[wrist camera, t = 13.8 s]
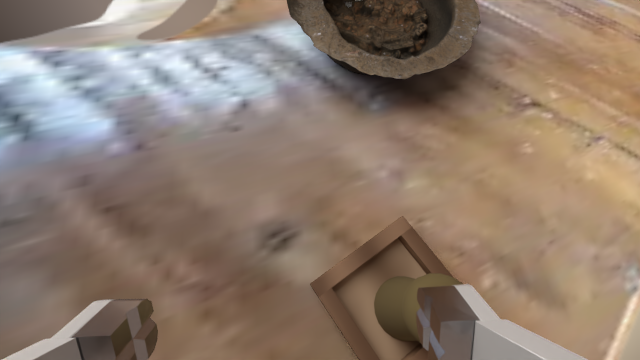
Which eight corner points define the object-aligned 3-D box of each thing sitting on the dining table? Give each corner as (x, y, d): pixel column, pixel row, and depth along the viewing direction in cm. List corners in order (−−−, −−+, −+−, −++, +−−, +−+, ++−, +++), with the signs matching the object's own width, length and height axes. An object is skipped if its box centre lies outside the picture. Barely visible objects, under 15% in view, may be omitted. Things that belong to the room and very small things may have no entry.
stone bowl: (302, -28, 50) (304, -97, 41) (449, -3, 51) (482, -64, 42) (276, 93, 40) (272, 37, 32) (458, 122, 41) (502, 75, 33)
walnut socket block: (382, 395, 28) (388, 403, 26) (310, 284, 32) (310, 283, 30) (472, 314, 31) (485, 316, 29) (396, 221, 34) (402, 215, 32)
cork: (411, 265, 32) (457, 249, 22) (446, 321, 30) (514, 333, 20) (362, 294, 31) (386, 291, 20) (395, 354, 29) (439, 384, 18)
